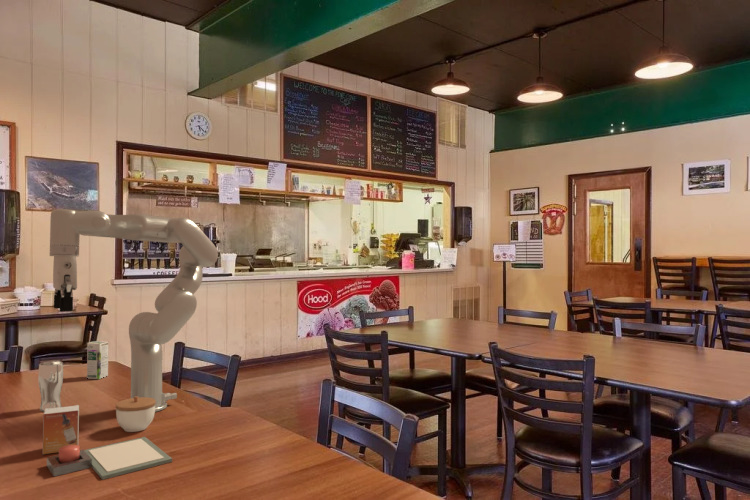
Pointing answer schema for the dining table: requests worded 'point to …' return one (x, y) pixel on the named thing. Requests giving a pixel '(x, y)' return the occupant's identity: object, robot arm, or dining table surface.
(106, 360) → the syrup box
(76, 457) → the red rounded knob
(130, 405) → the lidded jar
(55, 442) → the small box
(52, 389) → the beer glass
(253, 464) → the dining table surface
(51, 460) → the button housing
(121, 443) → the board
